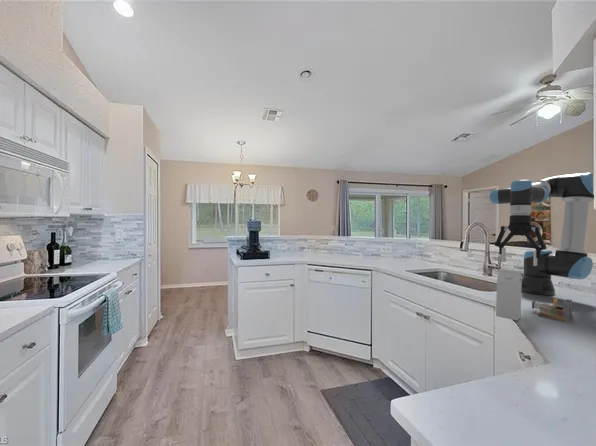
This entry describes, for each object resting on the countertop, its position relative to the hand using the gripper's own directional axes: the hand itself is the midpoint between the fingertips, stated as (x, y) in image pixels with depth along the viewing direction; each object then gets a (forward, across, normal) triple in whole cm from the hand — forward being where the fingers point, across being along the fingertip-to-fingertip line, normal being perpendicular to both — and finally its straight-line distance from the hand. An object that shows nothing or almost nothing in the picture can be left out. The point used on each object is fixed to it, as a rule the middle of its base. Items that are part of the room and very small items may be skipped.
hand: (518, 263), depth 124 cm
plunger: (+19, +9, 0) cm, 21 cm away
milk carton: (+20, +2, -18) cm, 27 cm away
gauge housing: (+20, +12, 0) cm, 24 cm away
